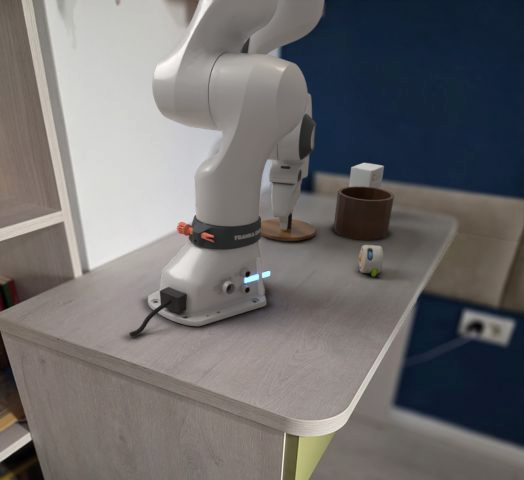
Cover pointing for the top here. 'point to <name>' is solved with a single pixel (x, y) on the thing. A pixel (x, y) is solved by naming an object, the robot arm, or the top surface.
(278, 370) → the top surface
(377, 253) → the roller toy
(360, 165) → the small box
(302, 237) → the lid
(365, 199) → the round wooden container
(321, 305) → the top surface
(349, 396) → the top surface
